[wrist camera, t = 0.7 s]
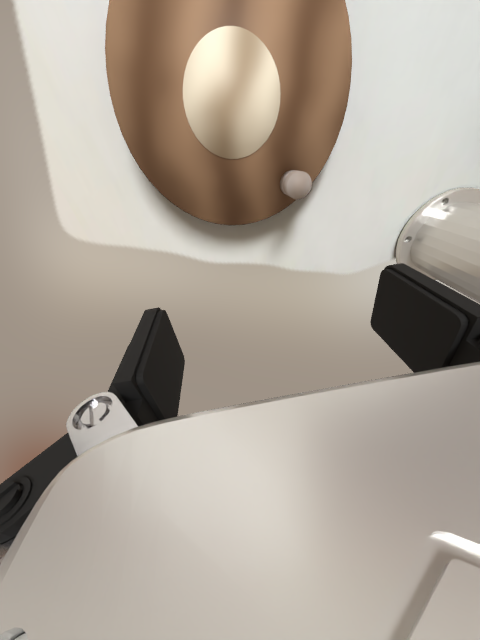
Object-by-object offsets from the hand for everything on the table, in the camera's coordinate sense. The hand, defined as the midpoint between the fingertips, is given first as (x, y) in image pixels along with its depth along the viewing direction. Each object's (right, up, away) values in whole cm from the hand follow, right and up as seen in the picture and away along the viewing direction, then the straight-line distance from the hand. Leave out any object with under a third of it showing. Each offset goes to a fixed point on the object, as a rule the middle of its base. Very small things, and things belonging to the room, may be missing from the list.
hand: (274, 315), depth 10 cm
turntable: (-2, +21, +13) cm, 25 cm away
